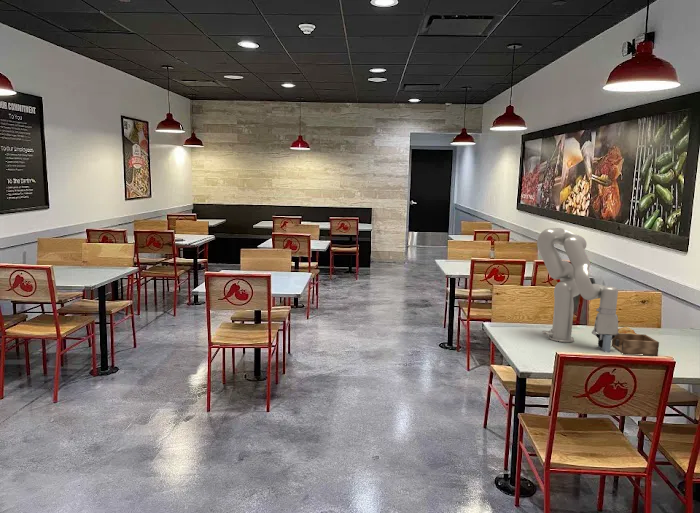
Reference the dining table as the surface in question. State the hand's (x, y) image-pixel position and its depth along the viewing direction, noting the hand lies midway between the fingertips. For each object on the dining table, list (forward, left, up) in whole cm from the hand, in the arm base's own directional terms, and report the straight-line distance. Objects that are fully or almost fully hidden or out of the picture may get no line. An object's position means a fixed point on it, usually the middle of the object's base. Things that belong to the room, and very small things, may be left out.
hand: (603, 346), depth 260 cm
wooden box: (+15, 0, -1) cm, 15 cm away
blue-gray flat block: (0, 0, -1) cm, 1 cm away
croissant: (+20, +22, -2) cm, 29 cm away
